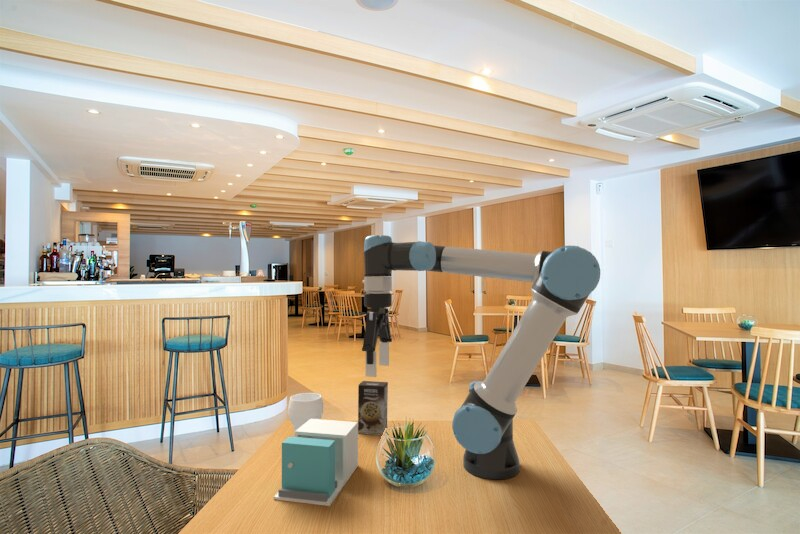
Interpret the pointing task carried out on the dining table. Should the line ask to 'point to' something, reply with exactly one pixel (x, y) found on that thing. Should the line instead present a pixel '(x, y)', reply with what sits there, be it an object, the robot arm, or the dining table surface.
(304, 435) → the cabinet
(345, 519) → the dining table surface
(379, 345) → the robot arm
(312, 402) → the cup
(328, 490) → the door
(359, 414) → the coffee box
